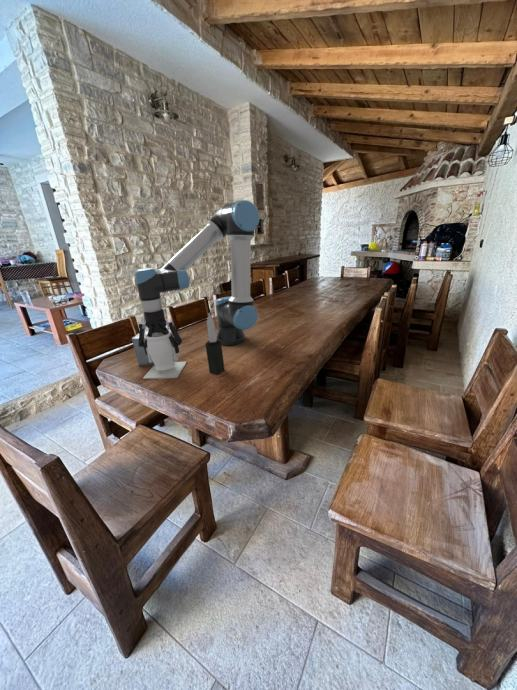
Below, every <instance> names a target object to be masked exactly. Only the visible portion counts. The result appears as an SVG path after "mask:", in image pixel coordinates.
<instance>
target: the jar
mask: <svg viewBox="0 0 517 690" xmlns="http://www.w3.org/2000/svg"><path fill="white" fill-rule="evenodd" d="M168 331H169V333H168V334H166V335H164V334H162V333H159V332H156V333H153V334H152V337H148V336H147V334H146V335H145V338H146V339H147V347H148V352H149V354H150V356H151V359H152V361H153V363H154V365H156V366H155V369H156V370H159V371H164V370H168V369H171V368H173V367H174V366H175V362H176V361H175V359H174V354H173V349H172V347H173V344H172V343H171V342H170V340H169V337H170V336H171V335H173V334H172V332H171V330H170V329H168Z"/></svg>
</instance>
